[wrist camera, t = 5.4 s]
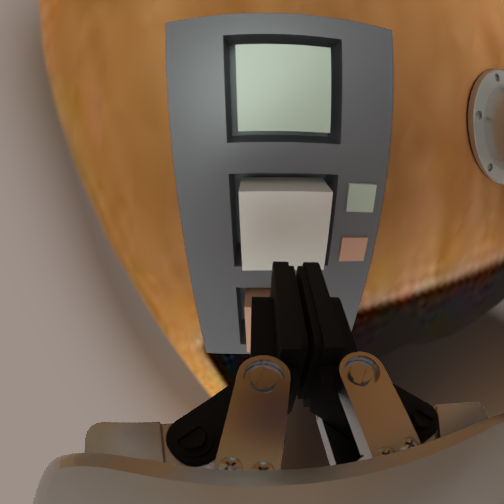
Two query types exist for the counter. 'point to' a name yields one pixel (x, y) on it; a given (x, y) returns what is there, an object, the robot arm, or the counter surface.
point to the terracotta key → (247, 307)
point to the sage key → (283, 87)
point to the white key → (283, 221)
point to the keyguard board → (274, 155)
